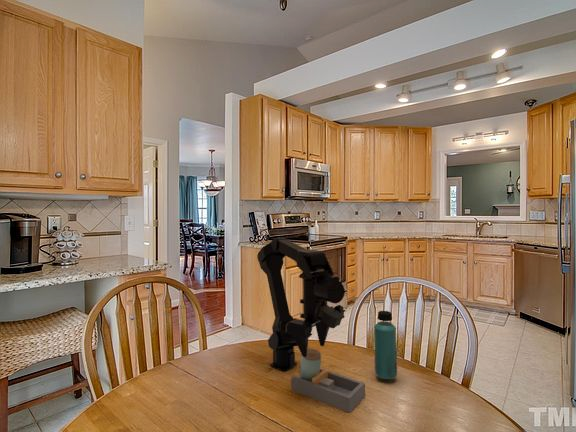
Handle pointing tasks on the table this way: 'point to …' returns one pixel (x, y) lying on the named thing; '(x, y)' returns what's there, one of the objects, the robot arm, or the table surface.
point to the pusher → (323, 380)
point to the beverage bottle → (385, 347)
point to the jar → (310, 365)
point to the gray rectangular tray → (332, 391)
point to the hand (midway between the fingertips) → (313, 351)
